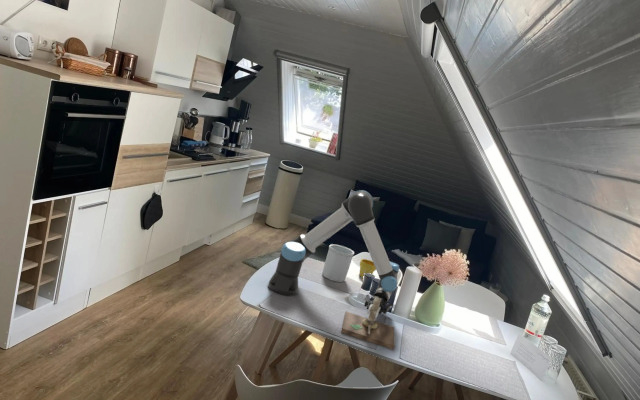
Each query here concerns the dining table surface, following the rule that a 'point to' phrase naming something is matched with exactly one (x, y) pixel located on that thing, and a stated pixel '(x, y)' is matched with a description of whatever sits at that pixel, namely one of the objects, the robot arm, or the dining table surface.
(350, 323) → the plate
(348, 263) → the utensil holder
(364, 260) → the plant pot
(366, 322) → the peg
